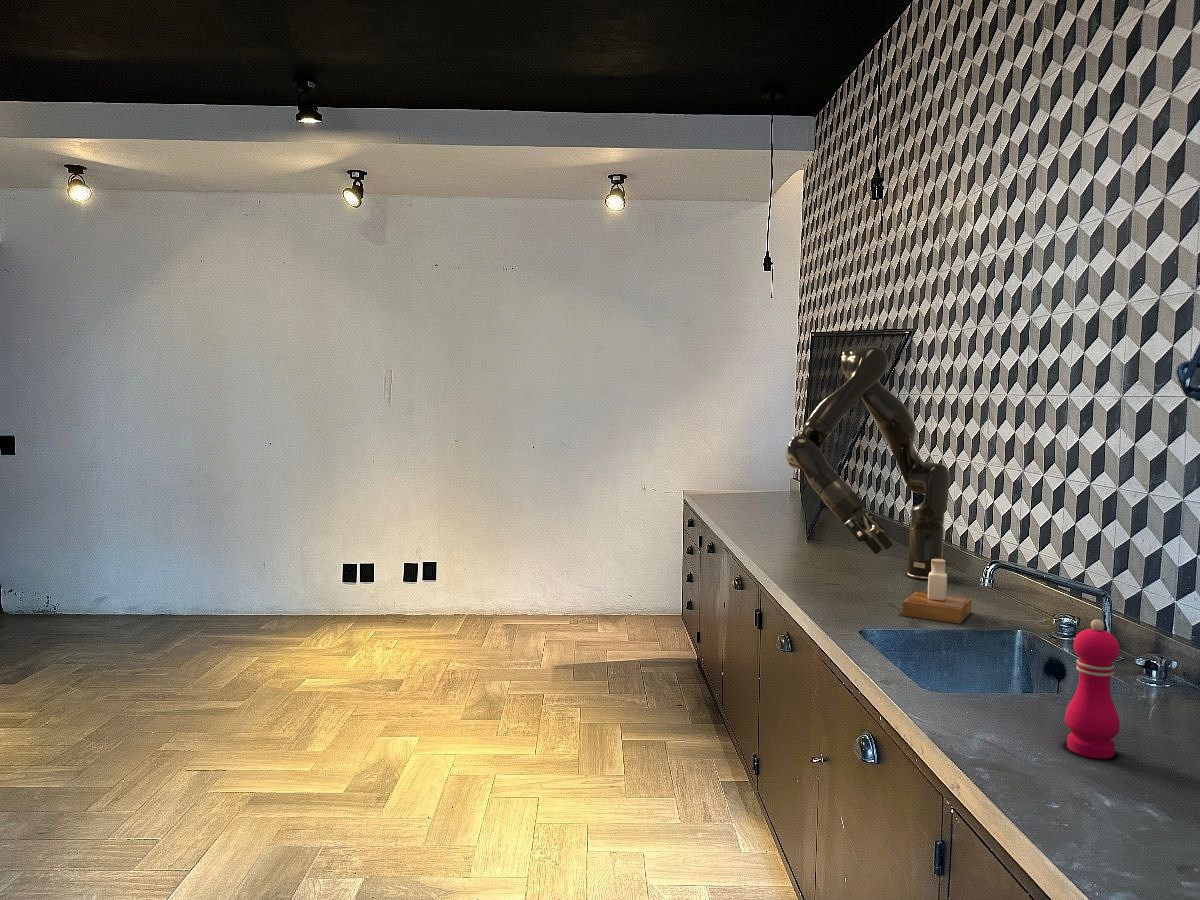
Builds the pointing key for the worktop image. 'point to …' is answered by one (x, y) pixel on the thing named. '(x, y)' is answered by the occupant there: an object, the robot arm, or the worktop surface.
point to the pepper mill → (1093, 695)
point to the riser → (937, 608)
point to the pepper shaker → (937, 580)
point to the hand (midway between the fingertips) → (885, 549)
